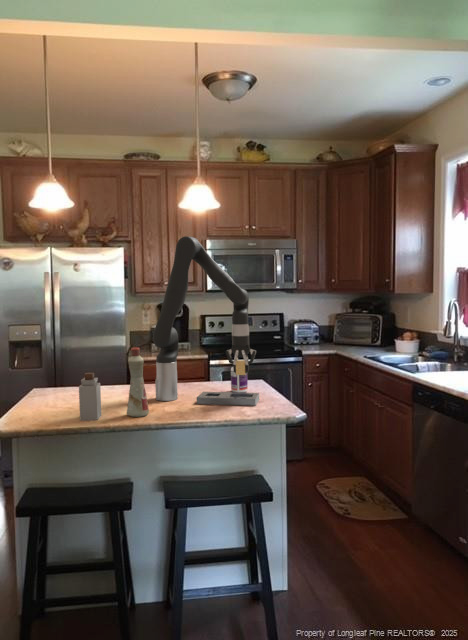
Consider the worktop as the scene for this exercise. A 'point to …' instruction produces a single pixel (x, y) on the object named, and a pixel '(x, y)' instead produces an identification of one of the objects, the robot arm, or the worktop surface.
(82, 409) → the perfume bottle
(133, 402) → the bottle
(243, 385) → the pill bottle
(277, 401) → the worktop surface
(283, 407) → the worktop surface
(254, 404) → the silver slotted board
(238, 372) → the block
